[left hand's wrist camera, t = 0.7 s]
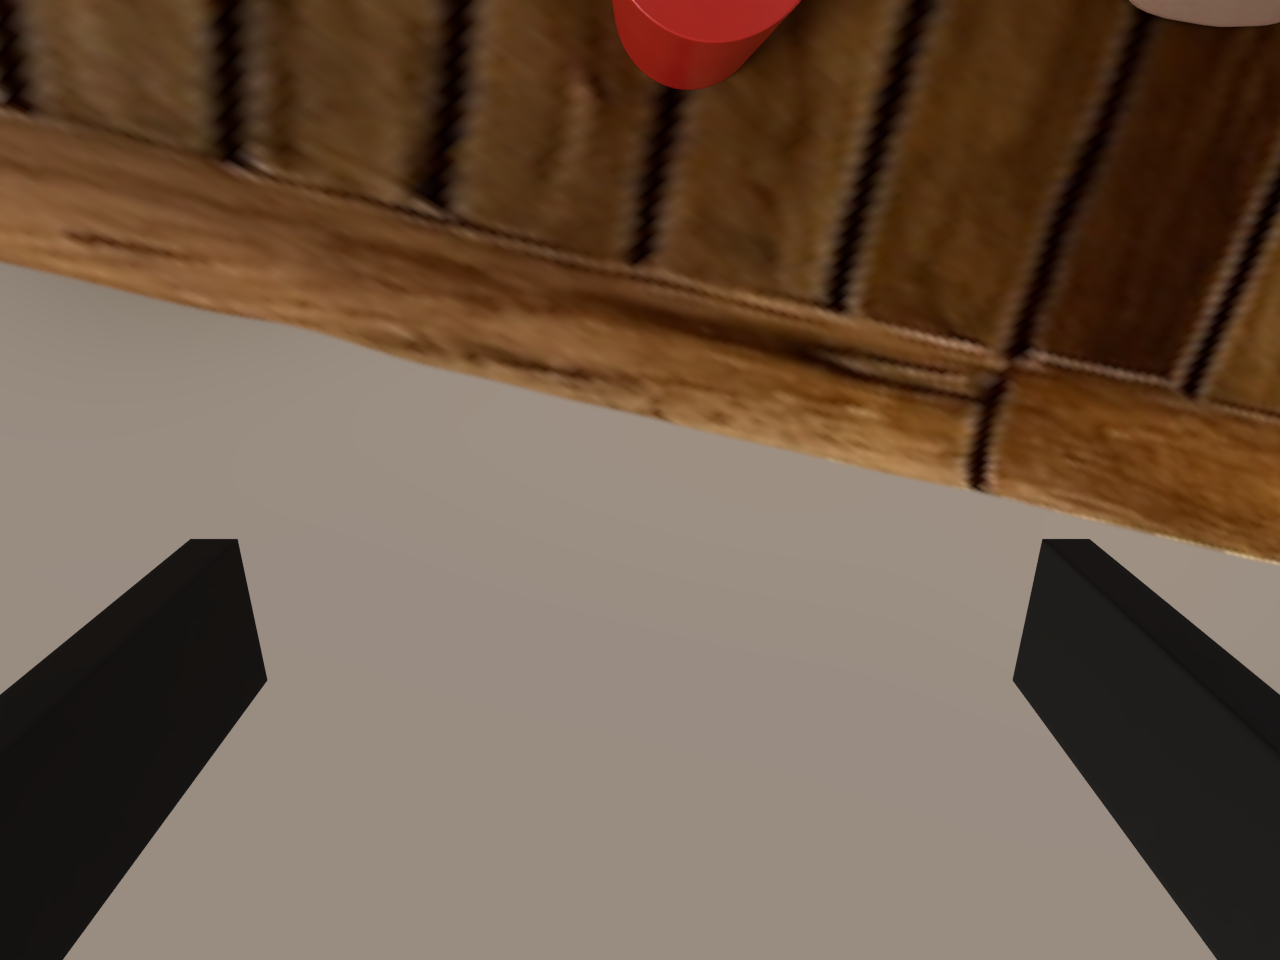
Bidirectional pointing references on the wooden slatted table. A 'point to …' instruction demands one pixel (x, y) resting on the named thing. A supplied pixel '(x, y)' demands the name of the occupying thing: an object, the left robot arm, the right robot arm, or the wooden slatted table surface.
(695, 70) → the red cylinder
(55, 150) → the wooden slatted table surface
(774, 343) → the wooden slatted table surface
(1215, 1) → the anatomical model
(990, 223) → the wooden slatted table surface
